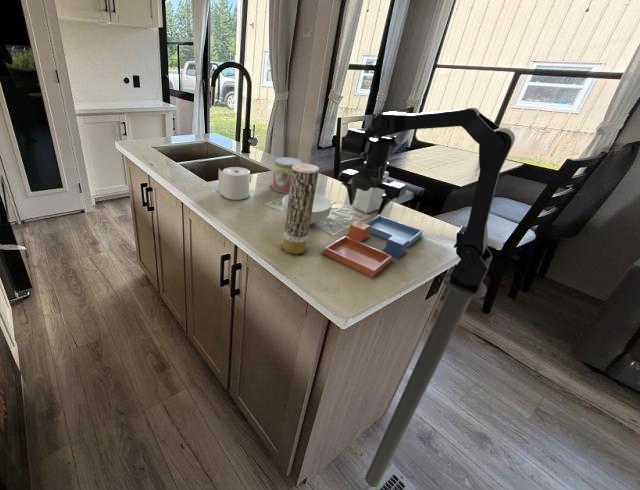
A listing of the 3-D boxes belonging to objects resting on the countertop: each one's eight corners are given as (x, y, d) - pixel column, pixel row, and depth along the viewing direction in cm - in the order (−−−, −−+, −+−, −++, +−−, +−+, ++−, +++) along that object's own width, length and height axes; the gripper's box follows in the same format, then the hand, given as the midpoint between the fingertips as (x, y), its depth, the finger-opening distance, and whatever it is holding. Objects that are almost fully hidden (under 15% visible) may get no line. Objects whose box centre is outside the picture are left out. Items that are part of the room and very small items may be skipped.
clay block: (367, 237, 105) (370, 225, 103) (360, 242, 102) (363, 229, 100) (354, 232, 108) (357, 220, 106) (347, 236, 105) (350, 224, 103)
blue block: (404, 252, 98) (408, 240, 96) (398, 257, 95) (402, 245, 93) (390, 246, 100) (394, 234, 98) (383, 251, 98) (387, 239, 95)
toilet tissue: (250, 199, 128) (252, 175, 123) (220, 200, 127) (220, 175, 122) (246, 190, 137) (247, 166, 133) (218, 190, 136) (218, 167, 131)
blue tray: (421, 236, 107) (423, 230, 106) (407, 247, 100) (409, 241, 99) (377, 220, 117) (378, 215, 116) (362, 229, 110) (363, 224, 109)
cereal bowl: (286, 206, 124) (288, 188, 121) (330, 214, 120) (334, 196, 116) (275, 225, 110) (277, 205, 107) (325, 234, 106) (329, 215, 102)
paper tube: (291, 240, 101) (302, 161, 89) (309, 249, 97) (323, 167, 85) (277, 248, 97) (287, 166, 85) (296, 257, 93) (309, 172, 81)
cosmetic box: (367, 213, 121) (376, 175, 114) (353, 208, 125) (362, 170, 118) (380, 209, 126) (390, 171, 118) (366, 203, 130) (376, 167, 123)
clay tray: (390, 262, 93) (392, 255, 92) (372, 277, 86) (374, 270, 85) (343, 241, 102) (344, 235, 101) (323, 253, 95) (324, 247, 94)
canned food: (267, 188, 140) (270, 161, 134) (279, 181, 148) (281, 155, 142) (291, 195, 135) (295, 166, 129) (302, 187, 143) (306, 160, 137)
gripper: (333, 156, 93) (324, 206, 101) (398, 173, 82) (382, 228, 89) (352, 150, 100) (343, 197, 108) (415, 165, 89) (399, 216, 96)
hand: (364, 209), depth 100 cm, fingers open, 9 cm apart
